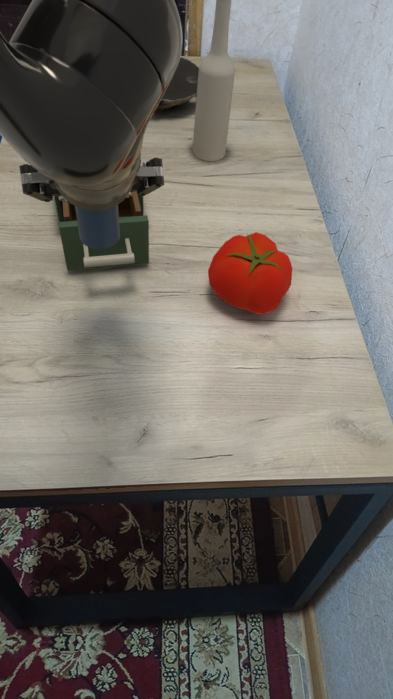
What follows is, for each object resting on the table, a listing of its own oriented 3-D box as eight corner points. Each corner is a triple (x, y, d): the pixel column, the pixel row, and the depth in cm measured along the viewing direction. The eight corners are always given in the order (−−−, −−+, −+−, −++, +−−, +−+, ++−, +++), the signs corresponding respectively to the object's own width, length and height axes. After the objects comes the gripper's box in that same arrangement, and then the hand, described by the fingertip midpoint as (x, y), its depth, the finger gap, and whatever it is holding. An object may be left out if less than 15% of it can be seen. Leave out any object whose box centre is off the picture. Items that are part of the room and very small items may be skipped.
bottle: (192, 160, 96) (204, -9, 74) (192, 142, 100) (203, -24, 78) (226, 162, 96) (248, -6, 74) (224, 143, 100) (244, -21, 78)
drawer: (153, 285, 74) (153, 242, 67) (69, 293, 71) (60, 250, 65) (137, 209, 84) (135, 166, 78) (63, 215, 82) (55, 170, 75)
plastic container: (80, 251, 57) (69, 184, 50) (77, 224, 60) (67, 157, 53) (123, 248, 58) (118, 181, 51) (118, 221, 61) (114, 155, 54)
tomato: (195, 271, 77) (199, 228, 71) (269, 260, 80) (279, 218, 73) (219, 332, 70) (227, 291, 63) (299, 318, 73) (314, 277, 66)
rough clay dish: (222, 94, 113) (225, 71, 109) (169, 133, 101) (169, 108, 97) (144, 65, 119) (144, 42, 115) (85, 99, 107) (83, 74, 103)
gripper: (174, 105, 41) (153, 156, 57) (-7, 111, 38) (25, 163, 55) (183, 198, 42) (159, 222, 59) (8, 209, 39) (35, 231, 56)
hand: (94, 193), depth 57 cm, fingers closed on plastic container, 5 cm apart
